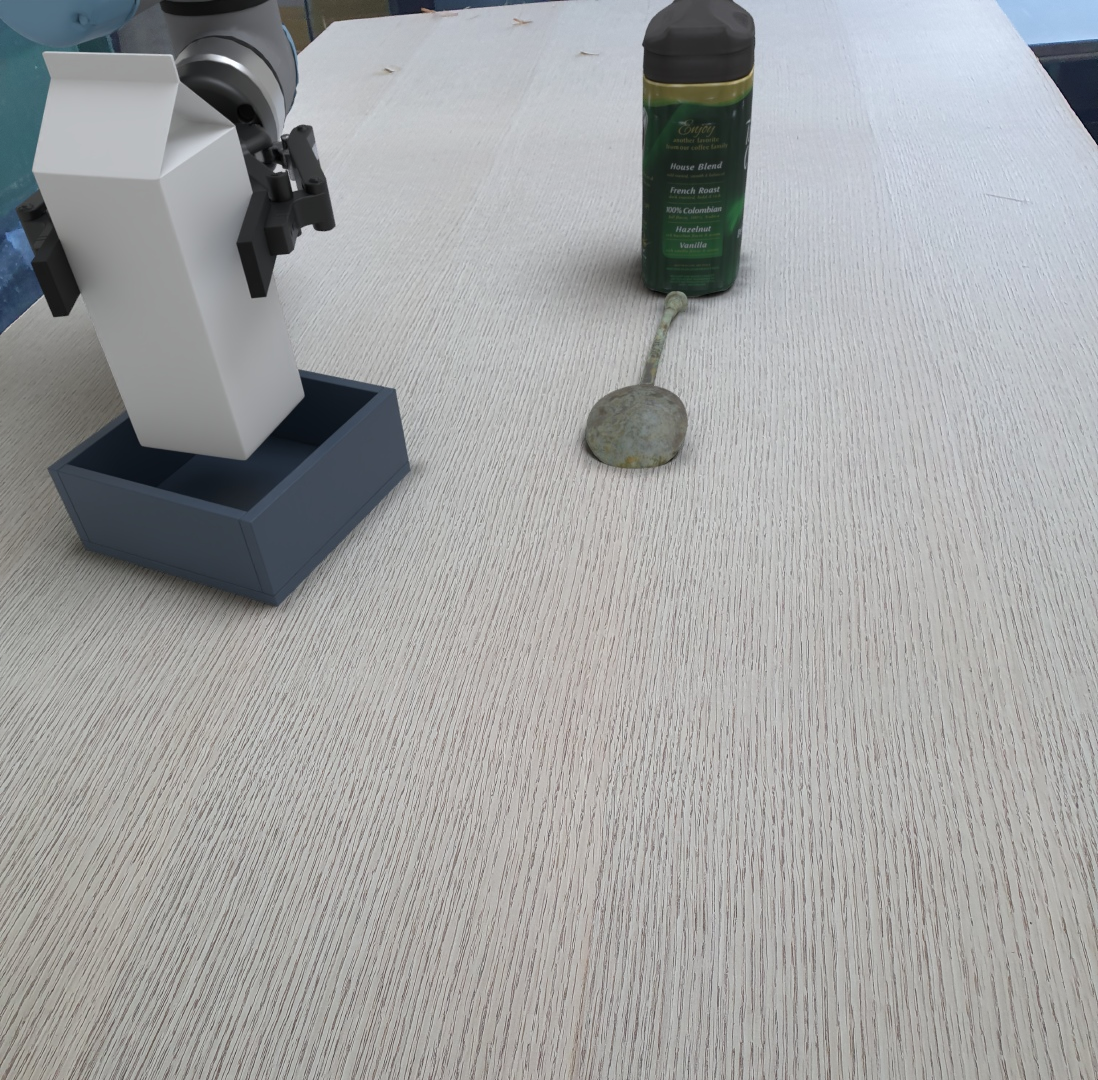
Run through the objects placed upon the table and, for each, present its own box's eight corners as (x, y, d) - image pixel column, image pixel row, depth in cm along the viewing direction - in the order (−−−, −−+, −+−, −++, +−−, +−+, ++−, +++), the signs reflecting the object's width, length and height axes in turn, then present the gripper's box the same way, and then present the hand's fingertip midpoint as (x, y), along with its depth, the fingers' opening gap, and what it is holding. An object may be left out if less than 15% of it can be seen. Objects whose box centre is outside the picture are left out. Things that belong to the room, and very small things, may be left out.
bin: (86, 552, 66) (46, 468, 61) (232, 431, 74) (206, 350, 70) (278, 610, 60) (250, 522, 56) (411, 473, 69) (396, 388, 65)
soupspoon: (575, 476, 69) (676, 488, 68) (574, 431, 66) (680, 443, 65) (635, 307, 83) (720, 315, 82) (637, 264, 80) (724, 272, 79)
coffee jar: (739, 302, 82) (758, 21, 69) (637, 302, 84) (636, 25, 70) (741, 249, 89) (759, -18, 75) (646, 249, 90) (647, -13, 77)
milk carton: (247, 464, 60) (126, 80, 46) (140, 448, 62) (-7, 75, 48) (306, 399, 64) (213, 32, 50) (205, 386, 66) (87, 29, 52)
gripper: (400, 172, 70) (387, 332, 55) (68, 204, 70) (-37, 372, 55) (379, 40, 65) (359, 177, 49) (20, 75, 65) (-113, 222, 49)
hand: (150, 280), depth 52 cm, fingers closed on milk carton, 9 cm apart
